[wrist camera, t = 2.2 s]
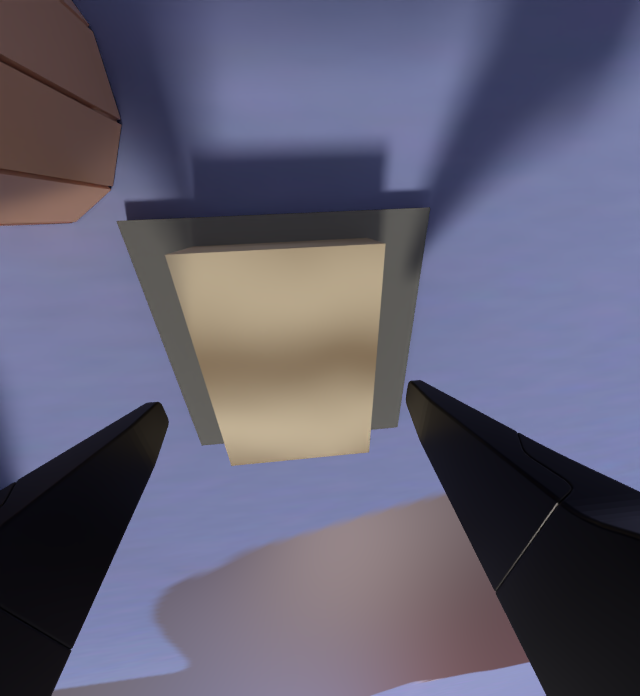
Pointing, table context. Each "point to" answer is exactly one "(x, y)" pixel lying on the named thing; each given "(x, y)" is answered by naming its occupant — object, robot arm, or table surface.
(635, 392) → the table surface
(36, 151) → the bowl
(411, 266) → the mat
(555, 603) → the robot arm
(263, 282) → the cover
